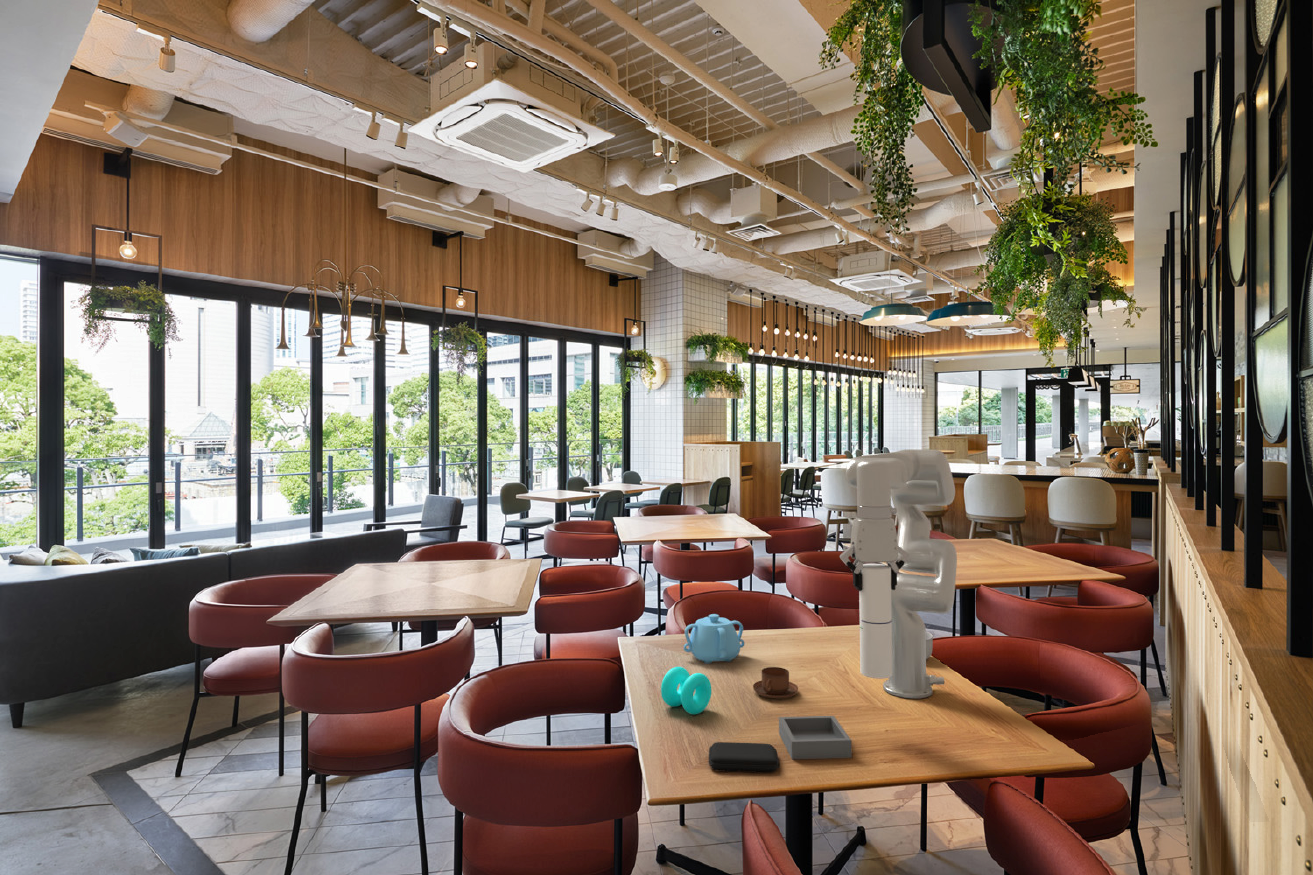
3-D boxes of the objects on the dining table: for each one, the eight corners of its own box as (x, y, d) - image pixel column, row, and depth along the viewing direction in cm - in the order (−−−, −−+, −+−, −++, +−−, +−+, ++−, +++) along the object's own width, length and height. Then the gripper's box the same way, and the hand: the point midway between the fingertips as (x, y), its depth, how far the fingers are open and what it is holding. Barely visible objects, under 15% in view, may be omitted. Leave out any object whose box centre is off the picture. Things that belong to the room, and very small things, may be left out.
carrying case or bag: (776, 752, 152) (709, 750, 154) (775, 738, 152) (709, 736, 154) (780, 776, 142) (708, 773, 143) (780, 761, 142) (708, 759, 143)
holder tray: (833, 731, 162) (833, 715, 162) (851, 757, 149) (851, 740, 149) (779, 733, 161) (778, 717, 161) (791, 759, 148) (791, 741, 148)
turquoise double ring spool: (685, 698, 183) (685, 661, 183) (714, 709, 176) (713, 670, 176) (658, 709, 176) (658, 670, 176) (687, 720, 169) (687, 680, 169)
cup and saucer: (798, 704, 179) (797, 680, 179) (751, 701, 181) (751, 677, 181) (798, 687, 191) (797, 665, 191) (754, 684, 193) (754, 662, 193)
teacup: (936, 656, 215) (936, 631, 215) (929, 666, 206) (929, 640, 206) (890, 649, 223) (890, 625, 223) (882, 659, 214) (881, 633, 214)
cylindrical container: (876, 680, 156) (874, 570, 156) (853, 671, 162) (852, 565, 162) (899, 675, 159) (897, 567, 159) (876, 665, 166) (874, 562, 165)
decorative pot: (721, 670, 205) (721, 625, 205) (678, 659, 215) (678, 616, 215) (749, 656, 218) (749, 613, 218) (707, 647, 228) (707, 605, 228)
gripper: (904, 510, 165) (905, 584, 165) (832, 512, 164) (833, 586, 164) (917, 514, 157) (918, 591, 157) (842, 516, 156) (843, 593, 157)
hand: (875, 588), depth 161 cm, fingers closed on cylindrical container, 7 cm apart
